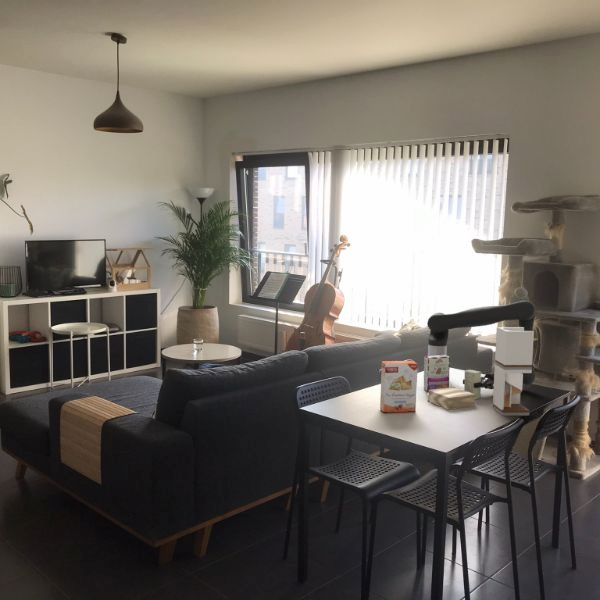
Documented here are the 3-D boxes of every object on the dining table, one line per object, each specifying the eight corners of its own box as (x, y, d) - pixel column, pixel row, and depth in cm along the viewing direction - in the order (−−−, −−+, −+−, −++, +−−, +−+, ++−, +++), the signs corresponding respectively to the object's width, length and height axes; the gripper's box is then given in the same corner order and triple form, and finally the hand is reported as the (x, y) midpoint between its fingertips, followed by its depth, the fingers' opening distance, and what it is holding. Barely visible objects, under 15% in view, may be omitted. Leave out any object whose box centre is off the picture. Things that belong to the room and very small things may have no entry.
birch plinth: (428, 401, 282) (428, 390, 281) (453, 397, 288) (454, 386, 287) (448, 409, 269) (449, 397, 269) (474, 405, 275) (475, 394, 275)
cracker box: (383, 413, 262) (385, 363, 260) (379, 409, 268) (381, 360, 266) (416, 412, 265) (418, 363, 262) (411, 408, 270) (413, 359, 268)
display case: (502, 415, 262) (506, 331, 257) (492, 408, 272) (496, 327, 268) (529, 415, 262) (533, 331, 258) (518, 407, 273) (523, 327, 269)
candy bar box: (444, 388, 305) (445, 354, 303) (449, 390, 300) (450, 356, 298) (422, 389, 302) (423, 355, 300) (427, 392, 297) (428, 357, 295)
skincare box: (480, 398, 287) (481, 371, 286) (474, 399, 285) (475, 373, 283) (469, 395, 292) (470, 369, 291) (463, 396, 290) (464, 370, 288)
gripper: (486, 369, 300) (458, 372, 293) (508, 375, 287) (479, 379, 280) (485, 384, 301) (457, 388, 294) (507, 391, 288) (479, 395, 281)
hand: (468, 383), depth 287 cm, fingers closed on skincare box, 6 cm apart
